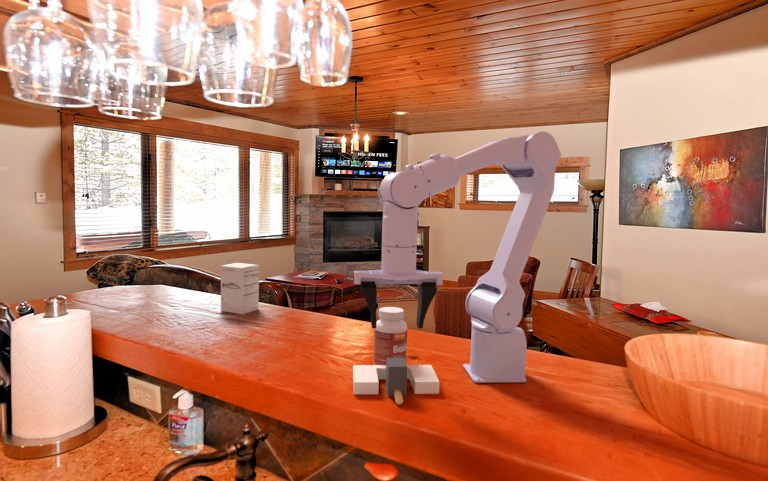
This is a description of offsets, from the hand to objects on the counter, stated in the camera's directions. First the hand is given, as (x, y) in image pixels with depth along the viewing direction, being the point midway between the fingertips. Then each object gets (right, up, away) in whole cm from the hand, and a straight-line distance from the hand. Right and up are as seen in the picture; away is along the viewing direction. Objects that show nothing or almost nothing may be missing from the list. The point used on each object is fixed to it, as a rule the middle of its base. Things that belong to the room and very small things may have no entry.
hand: (396, 326), depth 75 cm
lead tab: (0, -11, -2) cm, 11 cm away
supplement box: (-42, -5, +48) cm, 64 cm away
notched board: (0, -10, +2) cm, 10 cm away
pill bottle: (-1, -10, +10) cm, 14 cm away
